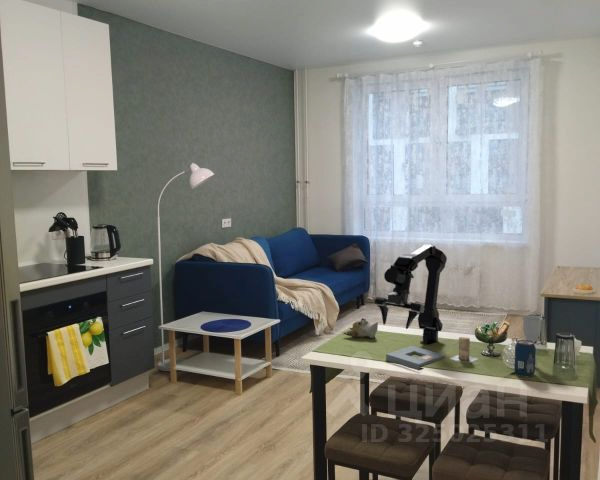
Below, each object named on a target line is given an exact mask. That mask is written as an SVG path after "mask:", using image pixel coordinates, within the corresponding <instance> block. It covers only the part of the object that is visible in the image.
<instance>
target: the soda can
mask: <svg viewBox="0 0 600 480" xmlns="http://www.w3.org/2000/svg"><path fill="white" fill-rule="evenodd" d="M535 359H536V345H535V342H532V341H529V340H527V339H518V340H516V344H515V346H514V372H515V374H516V375H517V376H519V375H520V376H519V377H522V376H525V377H524V378H527V377H526V376H531V377H533V376H532V375H534V374H535V372H536V366H535V362H536V361H535Z"/></svg>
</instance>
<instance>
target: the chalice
mask: <svg viewBox="0 0 600 480" xmlns="http://www.w3.org/2000/svg"><path fill="white" fill-rule="evenodd" d="M521 318H522V331H523V335H524V337H525V340H529V341H532V342H534V343H535V342H536V341H537V339H538V337H539V336H540V334H541V331H542V321H543V317H541V316H538V315H522V316H521ZM537 364H538V363H537V359H536V358H535V365H537ZM537 366H538V365H537Z"/></svg>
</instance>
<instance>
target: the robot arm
mask: <svg viewBox="0 0 600 480" xmlns="http://www.w3.org/2000/svg"><path fill="white" fill-rule="evenodd" d="M447 260H448V258H447V256H446V254H445V253H444V251H442V250H440V249H439V248H437V247H436V246H435V245H433V244H423V245H421V247H419V248H418V249H417V248H416V250H414V251H413V252H411V253H408V254H401V255H399V256H398V257H397V258H396V260H395V261H394V263H393V264H391V265H390V267H389V268H388V269H387V270H386V271H385V272H384V275H383V276H384V277H383V278H384V280H385V281H386V282H387V283H389V284H393V285H394V287H393V289H392V292H389V293H388V294H387V298H386V297H380V296H379V297H378V296H376V297H375V298H374V303H373V304H374V305H376V307H378V308H379V310H380V312H381V318H382V324H383V325H386V323H387V318H388V312H389V307H388V306H392V307H396V308H401V309H402V308H403V309H408V316H407V320H406V324H405V329H406V330H407V329H409V327H410V326H411V324H412V323H413V321H414V319H415V318H416V317H417V316H418V317H417V323H418V328H419V329H420V330H422V340H421V341H420V344H424V345H426V346H427V345H428V346H429V345H430V346H431V345H433V344H437V343H440V340H439V332H442V330H443V323H442V321H441V319H440V313H439V310H438V309H437V303H438V295H439V294H438V293H439V285H440V278H441V277H440V276H441V273H442V271H444V269H445V268H446V263H447ZM422 261H424V262H425V267H426V269H427V271H428V273H427V281H426V289H425V290H426V291H425V297H424V304H423V305H422V304H420V303H415V302H411V303H409V301H408V298H409V295H410V288H411V283H412V279H414V278H415V276H414V274H413V273H412V272H415V270H416V269H417V268H418V267H419V263H421V262H422ZM402 304H403V305H402Z"/></svg>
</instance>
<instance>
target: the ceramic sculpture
mask: <svg viewBox="0 0 600 480" xmlns="http://www.w3.org/2000/svg"><path fill="white" fill-rule="evenodd" d="M378 328H379V322H369V321H368V319H366V318H361V319H360V320H356V321H354V323H353V324H352V326H351V327H349V329H350V330H347V331H346V332H342V334H343V335H345V336H348V337H357V338H358V337H359V338H364V337H369V338H370V339H373V338H375V337H376V333H377V332H378Z"/></svg>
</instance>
